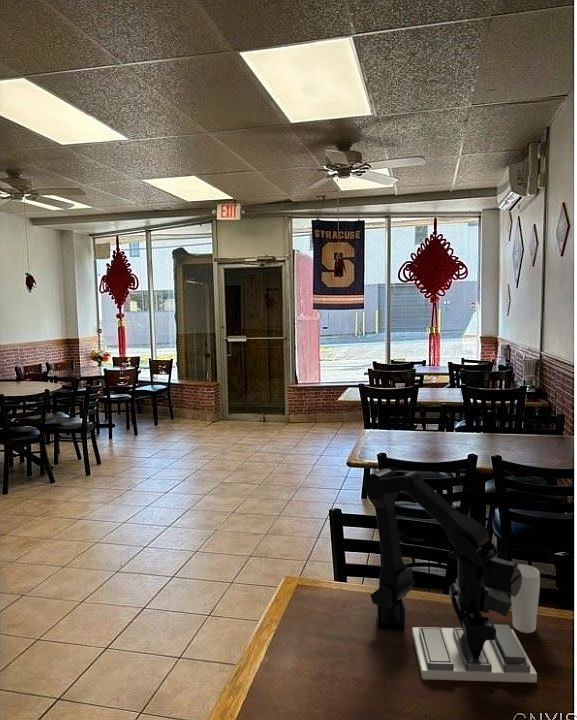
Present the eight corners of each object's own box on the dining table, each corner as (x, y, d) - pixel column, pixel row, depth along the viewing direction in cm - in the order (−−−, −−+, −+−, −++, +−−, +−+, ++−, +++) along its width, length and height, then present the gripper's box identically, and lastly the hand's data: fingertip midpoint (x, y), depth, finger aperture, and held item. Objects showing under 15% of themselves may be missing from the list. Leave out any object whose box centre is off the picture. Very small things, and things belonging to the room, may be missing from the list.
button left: (430, 667, 119) (430, 660, 119) (422, 634, 131) (422, 628, 131) (449, 667, 119) (449, 661, 119) (439, 634, 131) (439, 628, 131)
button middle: (468, 668, 119) (468, 661, 118) (456, 635, 130) (456, 629, 130) (487, 669, 118) (487, 662, 118) (473, 635, 130) (473, 629, 130)
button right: (506, 663, 118) (506, 656, 118) (490, 630, 130) (490, 624, 129) (525, 663, 117) (525, 657, 117) (508, 630, 129) (508, 624, 129)
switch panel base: (422, 679, 119) (422, 663, 118) (412, 634, 135) (412, 621, 134) (536, 682, 117) (536, 667, 116) (512, 637, 132) (512, 623, 132)
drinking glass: (542, 637, 132) (543, 578, 131) (512, 634, 133) (513, 576, 132) (535, 621, 139) (536, 564, 137) (507, 619, 140) (507, 563, 138)
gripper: (522, 603, 113) (521, 673, 114) (496, 560, 131) (495, 622, 133) (466, 602, 114) (466, 672, 115) (448, 560, 132) (448, 621, 134)
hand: (470, 645), depth 124 cm, fingers open, 9 cm apart
